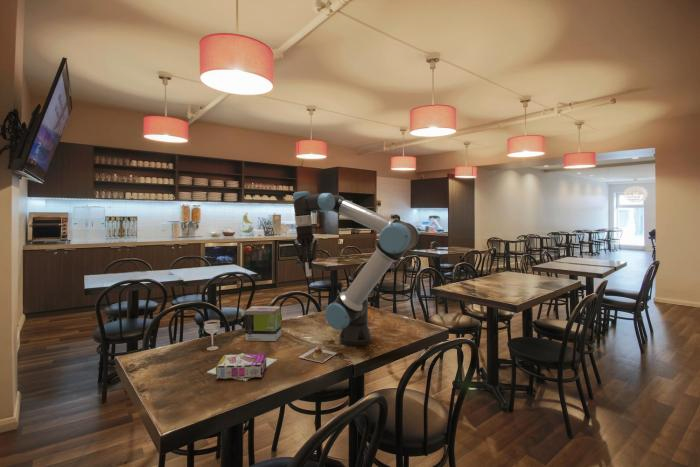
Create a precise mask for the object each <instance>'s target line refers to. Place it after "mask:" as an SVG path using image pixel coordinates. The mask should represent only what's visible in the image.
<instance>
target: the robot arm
mask: <svg viewBox="0 0 700 467" xmlns="http://www.w3.org/2000/svg"><path fill="white" fill-rule="evenodd" d="M292 199H293V201H292V203H293V210H294V220H295V226H296V227H295V230H296V239H295V240H293V241H292V242H291V243H292V244H293V246H294V250H295V252H296V254H297V258H298V261H299V262H302V263H303V269H304V270H305V275H306V276H305V277H307V278H308V277H309V278H310V277H311V276H312V269H313V268H314V267H313V261H316V259H317V252H318V245H319V243H320V239H318V238H315V235H314V230H313V229H314V228H313V225H312V224H313V220H312V212H324V211H325V212H333V213H336V214H338V215H341V216H343V217H345V218H347V219H350V220H351V221H354V222H355V223H358V224H360V225H362V226H364V227H367V228H369V229H370V230H373V231H375V232H378V233H379V237H378V240H377V241H376V243H375V249H376V250H375V251H374V252H373V253H372V255H371V256H370V258H369V259H368V260H367V261H366V263H365V265H364V266H363V267H362V268H361V270H360V271H359V273H358V274H357V276H356V277H355V278H354V280H353V281H352V283H351V284H350V285H349V286H348V288H347V289H346V290H345V291H341V292H340V293H339V294H338V296H336V297H337V298H336V299H334V301H333V302H331V303H330V304H328V305H327V307H326V308H325V311H324V316H325V320H326V322H327V324H328V325H329V326H330V327H331V328H332V329H334V330H340V334H339V343H341V344H342V345H345V346H349V347H362V346H367V345H368V344H369V345H370V344H371V343H372V334H371V330H370V328H369V323H368V322H369V321H368V320H369V317H368V316H369V311H368V310H369V303H368V302H369V299H368V298H369V297H368V296H369V295H370V294H371V292H372V291H373V289H374V288H375V287H376V286H377V285H378V283H379V281H380V280H381V279H382V278H383V276H384V274H386V272H387V271H388V269H389V268H390V267H391V266H392V264H393V263H394V262H395V263H396V262H399V261H400V259H401V258H402V257H403V256H404V255H405V253H406V252H407V251H408V250H410V249H412V248H414V247H415V246H417V243H418V241H419V231H418V230H417V228H416V227H415V226H414V225H413V224H411V223H410V222H409V223H408V222H405V221H403V220H399V219H397V218H394V219H391V218H390V217H387V216H384V215H383V214H381V213H378V212H375V211H373V210H370V209H368V208H366V207H364V206H361V205H359V204H356V203H354V202H352V201H350V200H347V199H345V198H344V197H343V196H341V195H338V194H335V195H333V193H330V192H323V193H317V194H310V192H309V191H307V190H306V191H305V190H304V191H295V192H294V193H293V194H292ZM312 243H313V244H312Z"/></svg>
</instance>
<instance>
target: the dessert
mask: <svg viewBox="0 0 700 467" xmlns="http://www.w3.org/2000/svg"><path fill="white" fill-rule="evenodd" d="M312 353H313V355H312V358H314V359H322V358H324V353H326V354H329V355H330V356H329V357H327V358H326V359H324V360H322V362H321V361H318V360H314V359H309V358H306V357H307V356H309V355H310V354H312ZM336 354H338V352H335V351H330V350H326V349H323V348H321V347H320V346H319V345H317V346H316V347H315V348H312V349H310V350H308V351H307V352H305V353H303V354H301V355H299V356H298V358H299V359H303V360H307V361H310V362H316V363H320V364H323V363H324V362H326V361H328V360H329V359H331V358H333V357H334V356H335V355H336Z"/></svg>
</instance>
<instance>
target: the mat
mask: <svg viewBox="0 0 700 467" xmlns="http://www.w3.org/2000/svg"><path fill="white" fill-rule="evenodd" d="M240 354H244V353H243V352H241V353H240ZM277 361H278V359H277V358H270V357H266V368H265V369H267V368H268V367H270V366H272V365H273V364H275V363H277ZM206 374H208V375H214V376H216V366H215V367H214V368H212V369H210V370H208V371H206ZM231 379H234V380H237V381H242V380H243V382H247V381H249V380H250V379H251V378H231ZM248 379H249V380H248Z"/></svg>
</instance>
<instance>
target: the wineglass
mask: <svg viewBox="0 0 700 467" xmlns="http://www.w3.org/2000/svg"><path fill="white" fill-rule="evenodd" d="M220 322H221V320H219V319H209V320H206V321H204V322H203V324H204V326H203V329H204V332H206V333H207V334H210V336H211V346H209V347H208V346H207V348H206V350H207V351H215V350H218V349H219V347H218V346H216V345H214V334H215V333H217V332H218V331H219V330H220V327H221V323H220Z"/></svg>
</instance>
